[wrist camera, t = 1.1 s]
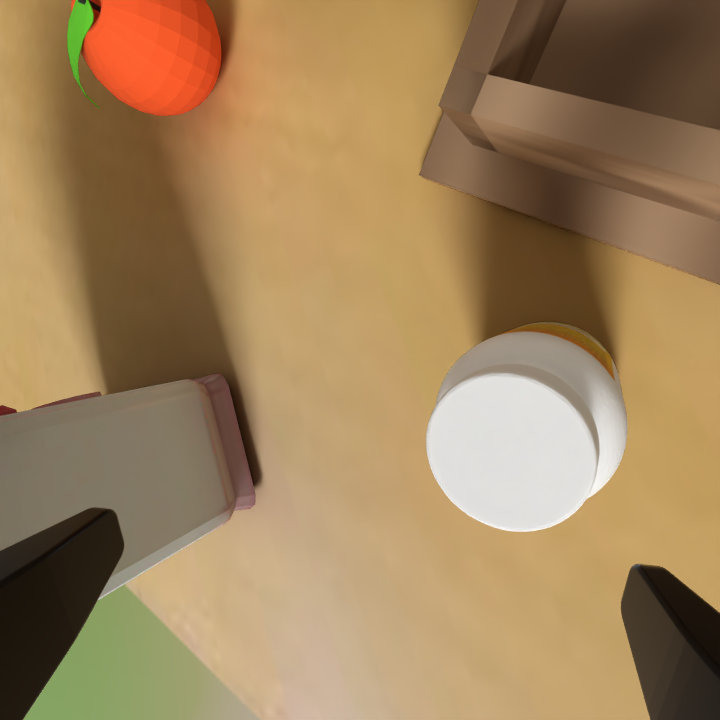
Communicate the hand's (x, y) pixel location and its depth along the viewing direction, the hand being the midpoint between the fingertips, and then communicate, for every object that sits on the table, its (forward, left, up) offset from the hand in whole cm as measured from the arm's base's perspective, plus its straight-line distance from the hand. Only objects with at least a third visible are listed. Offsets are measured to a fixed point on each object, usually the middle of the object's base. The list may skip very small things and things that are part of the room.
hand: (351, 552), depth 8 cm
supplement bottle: (-1, -1, -14) cm, 14 cm away
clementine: (+24, -8, -14) cm, 29 cm away
